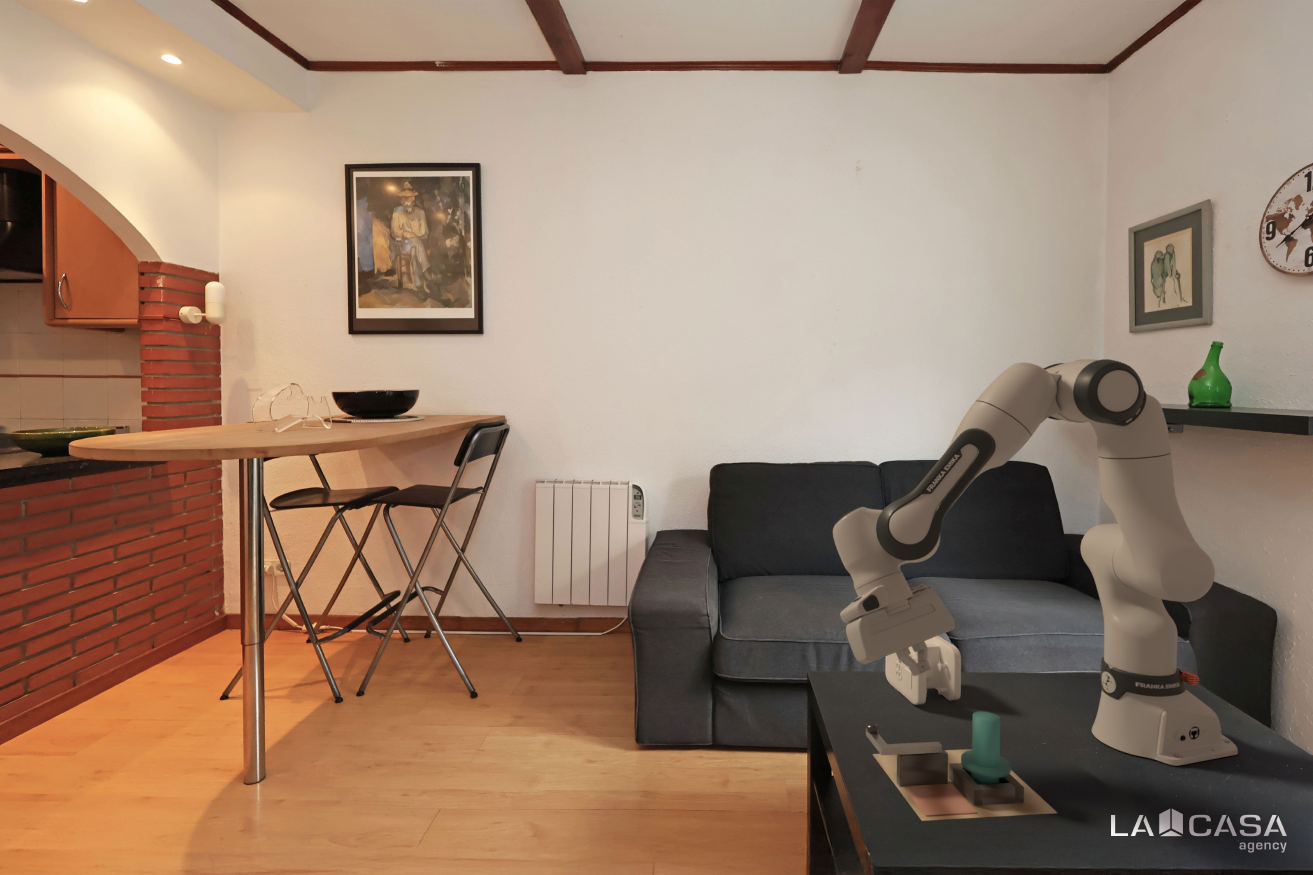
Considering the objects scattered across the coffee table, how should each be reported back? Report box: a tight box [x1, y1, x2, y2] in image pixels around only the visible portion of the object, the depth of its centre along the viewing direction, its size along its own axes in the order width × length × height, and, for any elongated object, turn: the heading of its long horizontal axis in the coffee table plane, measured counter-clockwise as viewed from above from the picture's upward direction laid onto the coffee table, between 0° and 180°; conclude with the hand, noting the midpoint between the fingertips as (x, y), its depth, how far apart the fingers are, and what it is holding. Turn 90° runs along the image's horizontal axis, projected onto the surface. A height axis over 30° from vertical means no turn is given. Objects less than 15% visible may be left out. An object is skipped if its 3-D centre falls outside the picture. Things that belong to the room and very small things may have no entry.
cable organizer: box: [884, 635, 962, 705], centre depth 155 cm, size 15×11×12 cm
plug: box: [961, 710, 1012, 785], centre depth 116 cm, size 7×7×12 cm
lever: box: [865, 722, 943, 756], centre depth 121 cm, size 10×7×2 cm
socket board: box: [872, 748, 1058, 822], centre depth 119 cm, size 21×20×6 cm
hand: (922, 672), depth 125 cm, fingers closed
